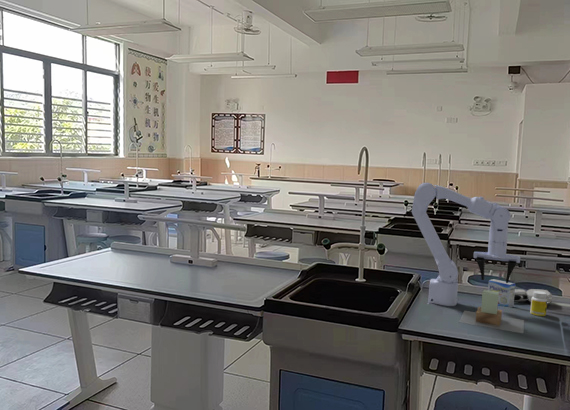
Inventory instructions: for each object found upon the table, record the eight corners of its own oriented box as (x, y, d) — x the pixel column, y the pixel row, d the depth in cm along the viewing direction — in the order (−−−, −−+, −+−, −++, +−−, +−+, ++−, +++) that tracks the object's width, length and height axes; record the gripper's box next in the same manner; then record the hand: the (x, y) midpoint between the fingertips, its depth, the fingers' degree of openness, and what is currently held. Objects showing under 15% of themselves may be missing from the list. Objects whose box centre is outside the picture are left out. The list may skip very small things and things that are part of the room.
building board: (458, 325, 153) (458, 322, 152) (464, 313, 165) (464, 310, 165) (523, 336, 144) (523, 333, 144) (523, 323, 157) (524, 320, 157)
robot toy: (507, 306, 179) (554, 309, 174) (507, 293, 179) (554, 296, 174) (505, 297, 191) (549, 300, 185) (505, 286, 190) (549, 288, 185)
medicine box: (486, 303, 178) (488, 280, 177) (492, 301, 181) (493, 278, 180) (508, 309, 172) (510, 284, 171) (513, 306, 175) (515, 282, 174)
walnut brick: (475, 321, 154) (476, 312, 153) (477, 315, 160) (478, 306, 159) (499, 325, 150) (500, 316, 150) (501, 319, 157) (502, 310, 156)
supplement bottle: (547, 320, 161) (549, 294, 160) (532, 318, 162) (534, 293, 161) (543, 315, 166) (545, 291, 165) (528, 314, 167) (530, 289, 166)
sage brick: (480, 311, 154) (482, 293, 153) (482, 308, 158) (483, 289, 157) (496, 314, 152) (498, 295, 151) (497, 310, 156) (498, 292, 155)
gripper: (473, 240, 167) (471, 280, 168) (521, 245, 160) (517, 286, 162) (475, 238, 173) (473, 276, 174) (521, 242, 167) (518, 282, 168)
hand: (494, 280), depth 168 cm, fingers open, 7 cm apart
